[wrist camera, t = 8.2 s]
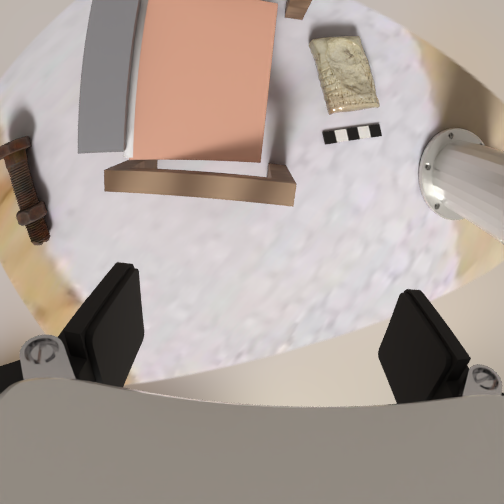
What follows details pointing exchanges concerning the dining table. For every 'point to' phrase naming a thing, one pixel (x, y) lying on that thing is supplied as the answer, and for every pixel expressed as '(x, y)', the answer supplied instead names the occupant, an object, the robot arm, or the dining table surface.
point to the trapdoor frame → (208, 183)
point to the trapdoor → (176, 79)
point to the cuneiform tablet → (345, 83)
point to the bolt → (25, 190)
